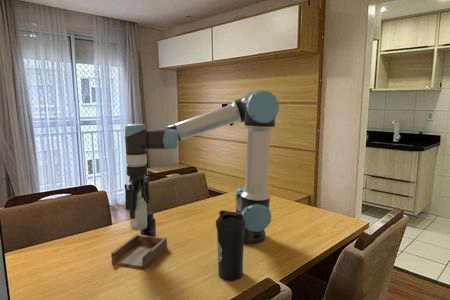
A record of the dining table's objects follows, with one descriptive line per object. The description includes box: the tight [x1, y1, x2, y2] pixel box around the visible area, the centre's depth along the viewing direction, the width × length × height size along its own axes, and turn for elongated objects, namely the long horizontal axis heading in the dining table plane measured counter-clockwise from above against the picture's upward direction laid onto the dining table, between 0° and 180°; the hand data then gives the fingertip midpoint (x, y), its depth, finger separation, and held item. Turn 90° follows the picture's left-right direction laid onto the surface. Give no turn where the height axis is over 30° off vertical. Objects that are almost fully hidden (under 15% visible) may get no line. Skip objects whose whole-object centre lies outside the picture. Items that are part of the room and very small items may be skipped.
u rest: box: [110, 233, 168, 270], centre depth 119 cm, size 14×17×4 cm
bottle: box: [130, 188, 148, 231], centre depth 116 cm, size 6×6×16 cm
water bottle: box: [215, 209, 245, 282], centre depth 104 cm, size 10×10×23 cm
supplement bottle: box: [139, 210, 157, 237], centre depth 134 cm, size 7×7×12 cm
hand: (139, 222), depth 117 cm, fingers closed on bottle, 6 cm apart
